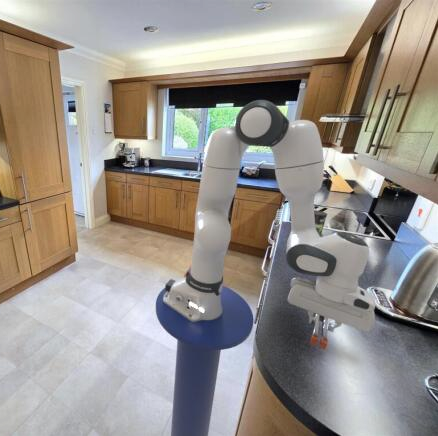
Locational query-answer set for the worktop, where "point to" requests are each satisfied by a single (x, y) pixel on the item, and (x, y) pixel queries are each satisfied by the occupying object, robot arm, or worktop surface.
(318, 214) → the coffee can
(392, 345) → the worktop surface
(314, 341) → the tongs
